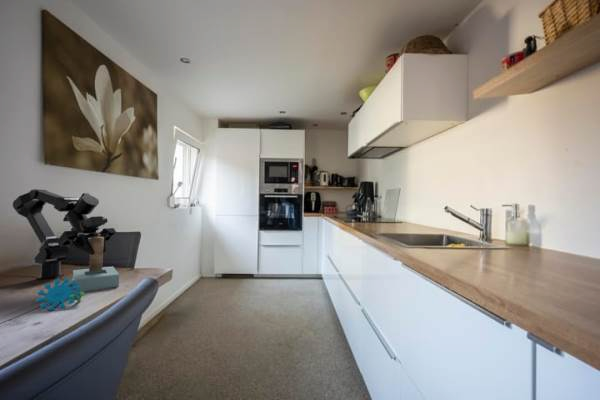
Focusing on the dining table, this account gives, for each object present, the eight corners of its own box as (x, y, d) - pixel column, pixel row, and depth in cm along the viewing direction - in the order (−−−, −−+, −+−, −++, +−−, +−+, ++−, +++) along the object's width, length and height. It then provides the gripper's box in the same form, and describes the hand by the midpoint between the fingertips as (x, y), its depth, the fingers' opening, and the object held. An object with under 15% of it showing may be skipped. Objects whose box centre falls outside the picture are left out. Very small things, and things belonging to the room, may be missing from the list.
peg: (87, 269, 104) (89, 237, 104) (100, 268, 107) (102, 236, 107) (90, 271, 101) (92, 238, 102) (103, 270, 105) (105, 237, 105)
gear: (27, 307, 76) (47, 275, 83) (33, 316, 80) (51, 285, 87) (74, 309, 79) (90, 278, 87) (78, 318, 83) (92, 288, 90)
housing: (72, 281, 106) (72, 270, 106) (112, 277, 114) (113, 266, 114) (73, 292, 94) (74, 279, 94) (118, 286, 102) (119, 274, 102)
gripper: (64, 208, 97) (85, 242, 93) (114, 208, 115) (133, 236, 111) (48, 229, 99) (67, 262, 96) (99, 226, 117) (117, 254, 113)
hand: (99, 253), depth 104 cm, fingers closed on peg, 4 cm apart
